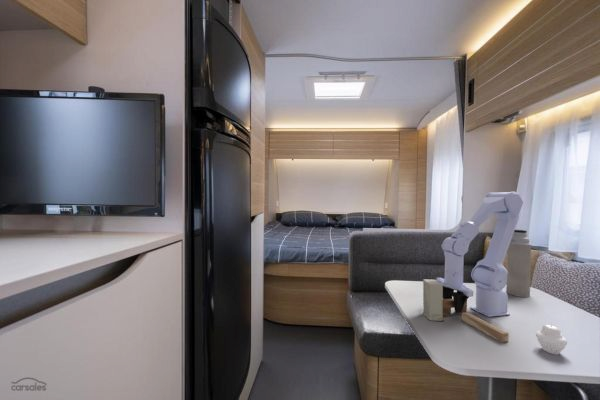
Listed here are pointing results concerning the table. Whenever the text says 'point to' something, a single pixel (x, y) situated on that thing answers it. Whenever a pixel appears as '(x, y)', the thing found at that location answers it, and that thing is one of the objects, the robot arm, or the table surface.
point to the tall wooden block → (450, 304)
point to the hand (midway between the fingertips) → (452, 309)
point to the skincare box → (433, 299)
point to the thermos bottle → (519, 264)
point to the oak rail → (486, 327)
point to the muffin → (551, 339)
